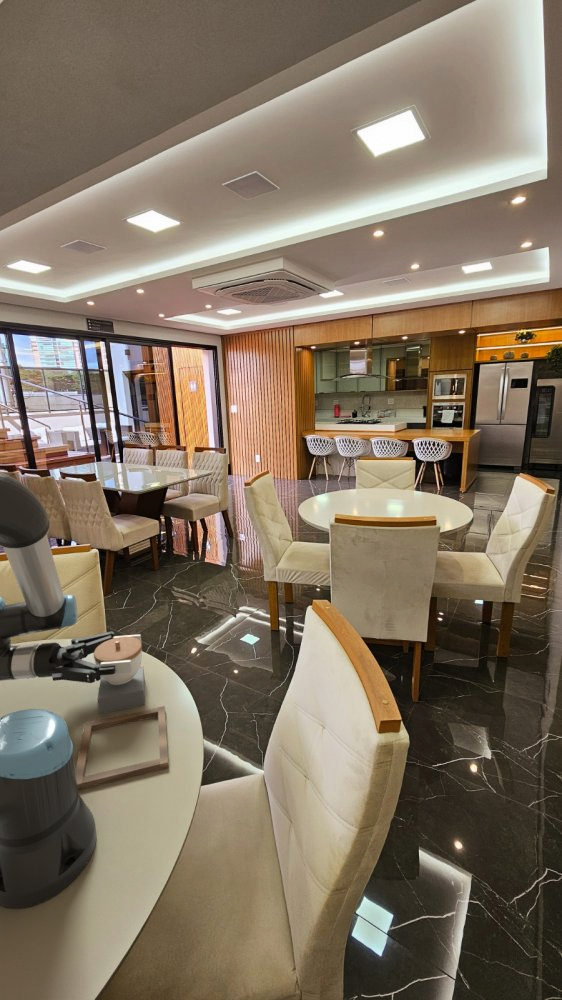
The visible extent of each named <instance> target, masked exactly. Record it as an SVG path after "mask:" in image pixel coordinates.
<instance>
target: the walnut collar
mask: <svg viewBox="0 0 562 1000" xmlns="http://www.w3.org/2000/svg"><path fill="white" fill-rule="evenodd" d="M151 718H157V719H158V745H159V757H158V758H155V759H152V760H148V761H143V762H138V763H133V764H130V765H126V766H121V767H117V768H113V769H111V770H105V771H101V772H97V773H94V774H89V775H86V771H87V770H86V769H87V763H88V757H89V751H90V745H91V740H92V739H91V738H92V732H93V731H96V730H100V729H105V728H110V727H115V726H120V725H123V724H124V725H125V724H129V723H133V722H138V721H142V720H148V719H151ZM81 735H82V737H81V741H80V746H79V747H80V748H79V752H78V756H77V757H78V758H77V762H76V765H75V766H76V767H75V775H76V781H77V788H78V791H79V790H82V789H86V788H87V789H88V788H90V787H95V786H99V785H102V784H107V783H110V782H115V781H118V780H122V779H127V778H132V777H135V776H140V775H144V774H147V773H151V772H155V771H160V770H162V769H163V770H164V769H166V768H167V769H168V768H169V754H168V752H169V751H168V737H167V722H166V706H165V705H162V706H157V707H153V708H148V709H143V710H140V711H138V710H137V711H135V712H134V711H133V712H130V713H126V714H125V713H124V714H120V715H114V716H111V717H106V718H100V719H97V720H96V719H95V720H91V721H86V722H84V725H83V730H82V734H81Z"/></svg>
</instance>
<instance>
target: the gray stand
mask: <svg viewBox="0 0 562 1000" xmlns="http://www.w3.org/2000/svg"><path fill="white" fill-rule="evenodd" d="M144 668H145V667H144V666H140V668H139V670H138V672H137V673H136V674H135V675H134V677H133V678H132V679H131V680H130V681H129V682H127V683H124V684H120V685H113V684H110V683H109V682H107V681H105V680H104V679H103V678H102V677H101V679H100V680H99V681H100V682H99V688H98V693H97V706H98V708H97V709H98V714H99V715H102V714H107V713H112V712H117V711H122V710H126V709H127V710H128V709H132V708H136V707H142V706H145V705H146V686H145V685H146V678H145V677H146V676H145V669H144Z"/></svg>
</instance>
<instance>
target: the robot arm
mask: <svg viewBox="0 0 562 1000" xmlns="http://www.w3.org/2000/svg"><path fill="white" fill-rule="evenodd" d="M50 528H51V523H50V519H49V515H48V512H47V510H46V508H45V506H44V504H43V503H42V501H41V500H40V499H39V497H38V496H37V495H36V494H35V493H34V492H33V491H32V490H31V489H30V488H29V487H27V486H26V485H25V484H23V483H22V482H21V481H20V480H19V479H17V478H14V477H12V476H10V475H8V474H6V473H4V472H2V471H0V547H1V548H3V551H4V554H5V555H6V558H7V560H8V563H9V565H10V567H11V570H12V573H13V575H14V577H15V580H16V583H17V584H18V587H19V590H20V592H21V594H22V597H23V600H24V601H21V602H14V603H9V604H8V603H7V604H6V602H5V600H4V598H3V597H1V596H0V682H2V681H12V680H13V681H14V680H22V679H23V680H24V679H27V680H28V679H29V680H30V679H35V678H48V677H49V678H51V677H52V678H51V679H52V681H62V680H63V681H70V682H77V683H88V684H93V683H95V682H98V681H101V675H111V674H119V673H131V672H132V665H131V660H123V661H113V662H101V664H100V667H99V665H97V664H95V663H93V662H90V661H86V660H84V659H86V658H87V657H88V656H89V655H91V654H94V651H95V649H96V648H97V647H98V646H99V645H100V644H102V643H104V642H105V641H108V640H110V639H114V638H118V637H134V638H137V639H138V640H140V641H141V644H142V635H141V634H140V633H139V634H129V635H128V634H127V635H116V636H115V632H114V631H107V632H103V633H99V634H93V635H91V636H85V637H81V638H80V637H79V638H78V637H77V638H71V640H70V645H67V646H61V645H60V644H59V642H45V643H41V644H40V643H32V644H31V643H30V644H20V645H12V643H11V642H12V641H11V640H12V639H11V638H15V637H20V636H25V635H30V634H32V635H33V634H37V633H42V632H48V631H54V630H61V629H63V628H67V627H71V626H75V625H76V624H77V622H78V607H77V606H78V605H77V600H76V596H75V595H74V594H64V591H63V587H62V584H61V581H60V578H59V577H60V576H59V573H58V570H57V566H56V562H55V560H54V559H55V558H54V555H53V552H52V549H51V544H50V542H49V541H50V540H49V537H48V534H49V531H50ZM73 744H74V743H73V741H72V738H71V737H70V732H69V729H68V725H67V723H66V721H65V719H64V718H62V716H61V715H59V714H56V713H54V712H53V711H51V710H48V709H41V708H29V709H27V708H26V709H21V710H17V711H13V712H10V713H8V714H5V715H2V716H1V717H0V906H2V907H4V908H9V909H22V908H29V907H33V906H36V905H39V904H41V903H43V902H46V901H48V900H50V899H51V898H53V897H55V896H56V895H58V894H60V893H61V892H62V891H64V890H65V889H66V888H67V887H68V886H70V885H71V884H72V883H73V882H74V881H75V880H76V878H78V876H79V875H80V874H81V873H82V871H83V870H84V869H85V868H86V866H87V865H88V863H89V862H90V860H91V857H92V855H93V853H94V851H95V848H96V845H97V844H96V843H97V827H96V822H95V817H94V815H93V812H92V811H91V809H90V808H89V807H88V805H87V804H86V802H85V800H83V798H82V797H81V796H80V794H79V790H78V788H77V781H76V775H75V772H76V767H75V762H74V754H73V751H74V746H73Z"/></svg>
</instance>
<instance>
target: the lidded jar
mask: <svg viewBox="0 0 562 1000" xmlns="http://www.w3.org/2000/svg"><path fill="white" fill-rule="evenodd" d="M141 643H142V640H141V641H140V640H138V639H137V638H134V637H118V638H114V639H110V640H108V641H105V642H104V643H102V644H100V645H99V646H98V647H97V648H96V649H95V651H94V653H93V659H94V664H97V665H99V667H100V664H101V662H113V661H123V660H131V665H132V672H131V673H119V674H111V675H101V677H102V678H103V679H104V680H105V681H107V682H109V683H110V684H113V685H120V684H124V683H127V682H129V681H130V680H131V679H132V678H133V677H134V675H135V674H136V673H137V672H138V670H139V668H140V667H142V666H141V665H142V661H143V660H142V659H143V645H142V644H141Z"/></svg>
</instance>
